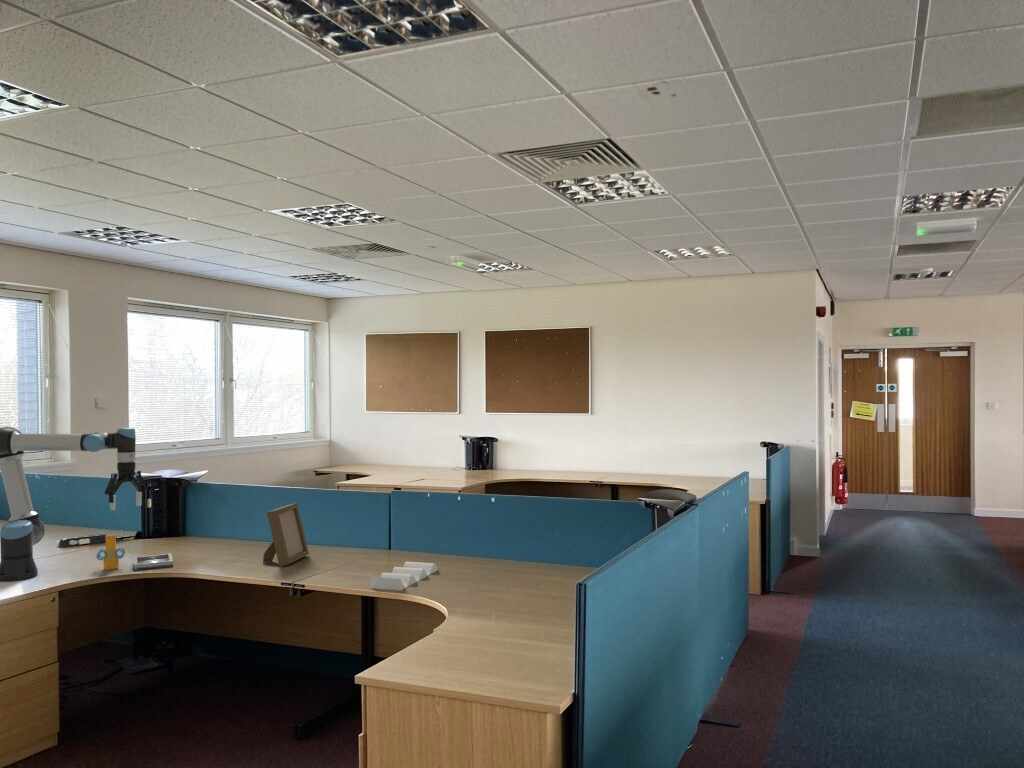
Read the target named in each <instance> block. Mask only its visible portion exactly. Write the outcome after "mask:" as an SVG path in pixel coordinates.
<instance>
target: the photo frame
mask: <svg viewBox="0 0 1024 768" xmlns="http://www.w3.org/2000/svg"><path fill="white" fill-rule="evenodd" d="M266 515H267V516H266V517H267V519H268V523H269V527H270V533H271V537H272V540H273V541H272V542H271V543H270V545H269V546H268V547H267V549H266V550H265V551H264V553H263V556H262V563H263V564H267V563H273V560H274V558H275V556H276V557H277V563H278V566H279V567H283V566H288V565H291V564H292V563H294V562H296V561H298V560H300V559H302V558H304V557H307V556H308V555H310V553H309V547H308V544H307V543H308V542H307V540H306V536H305V531H304V527H303V522H302V519H301V515H300V509H299V505H298V503H297V502H295V503H292V504H291V503H290V504H287V505H285V506H282V507H279V508H275V509H273V510H270V511H267V512H266Z"/></svg>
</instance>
